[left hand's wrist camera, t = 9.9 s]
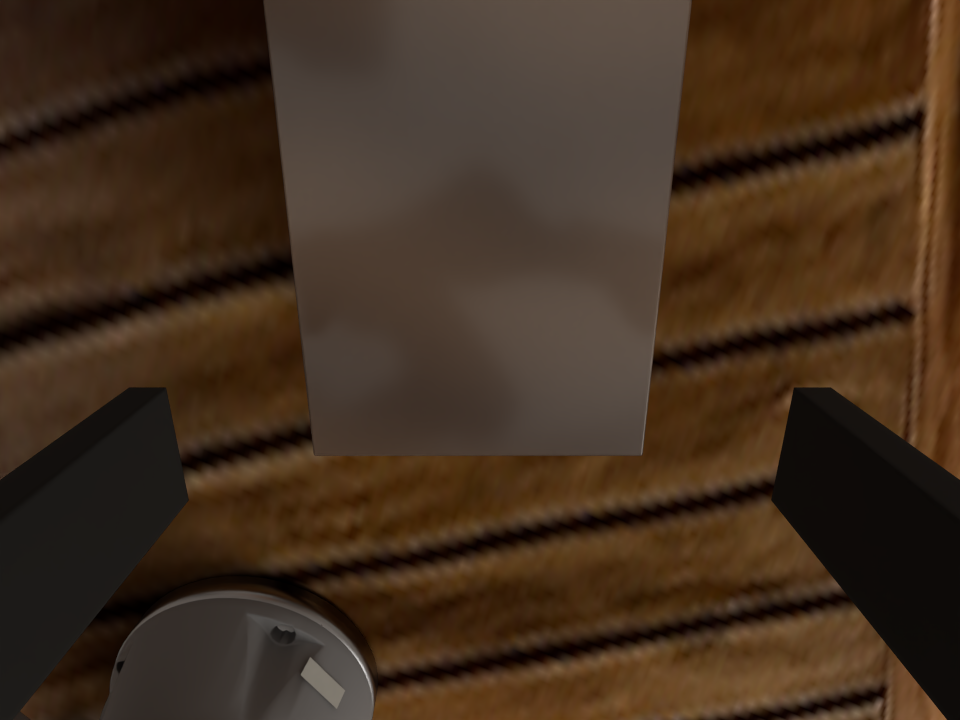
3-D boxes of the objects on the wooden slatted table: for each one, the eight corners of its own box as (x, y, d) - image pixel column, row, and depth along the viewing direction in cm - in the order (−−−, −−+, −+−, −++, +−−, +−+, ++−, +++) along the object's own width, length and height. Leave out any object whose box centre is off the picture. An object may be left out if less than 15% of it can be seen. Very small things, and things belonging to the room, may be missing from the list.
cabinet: (333, -191, 22) (209, -470, 12) (622, -191, 22) (744, -471, 12) (370, 346, 29) (313, 456, 19) (587, 346, 29) (642, 456, 19)
